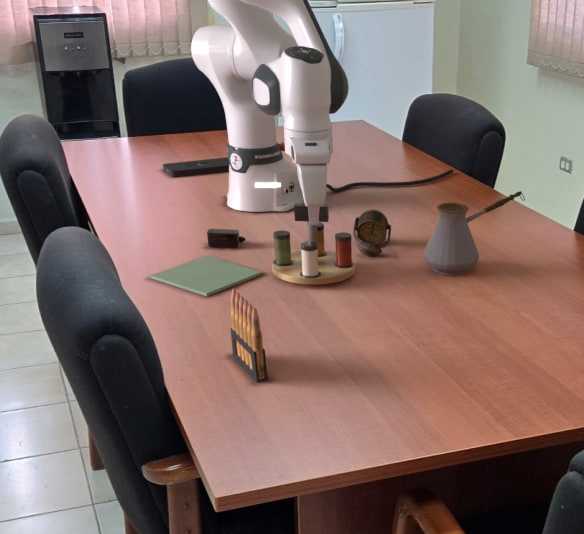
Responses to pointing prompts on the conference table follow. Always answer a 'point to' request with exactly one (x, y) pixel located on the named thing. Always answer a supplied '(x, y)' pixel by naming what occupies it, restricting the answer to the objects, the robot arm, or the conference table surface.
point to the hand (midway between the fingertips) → (311, 216)
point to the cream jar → (309, 258)
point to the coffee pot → (455, 238)
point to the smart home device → (197, 167)
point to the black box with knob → (224, 238)
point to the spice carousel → (329, 263)
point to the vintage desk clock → (371, 232)
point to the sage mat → (206, 275)
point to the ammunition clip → (247, 338)
